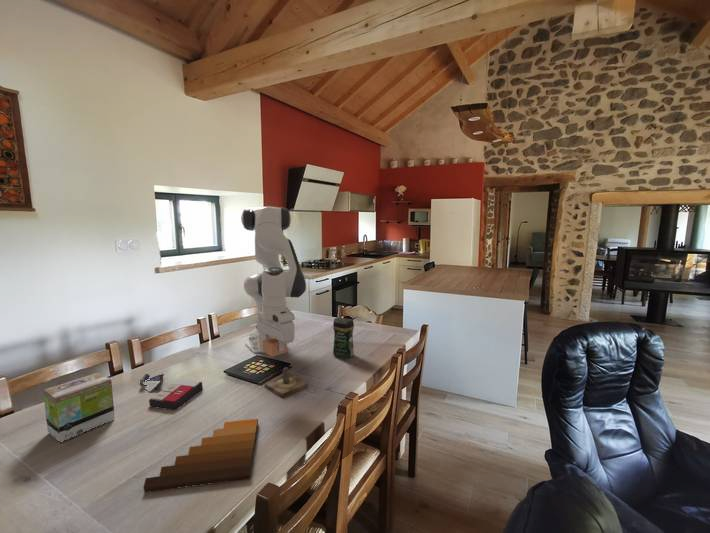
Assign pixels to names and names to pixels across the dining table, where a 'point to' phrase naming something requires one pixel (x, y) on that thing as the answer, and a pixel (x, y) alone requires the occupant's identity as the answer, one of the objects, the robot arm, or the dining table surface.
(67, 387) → the tea box
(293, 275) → the robot arm
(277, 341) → the collar
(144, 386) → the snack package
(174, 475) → the pan flute
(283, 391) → the post stand
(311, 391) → the dining table surface
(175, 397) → the black and red box
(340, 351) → the coffee jar
